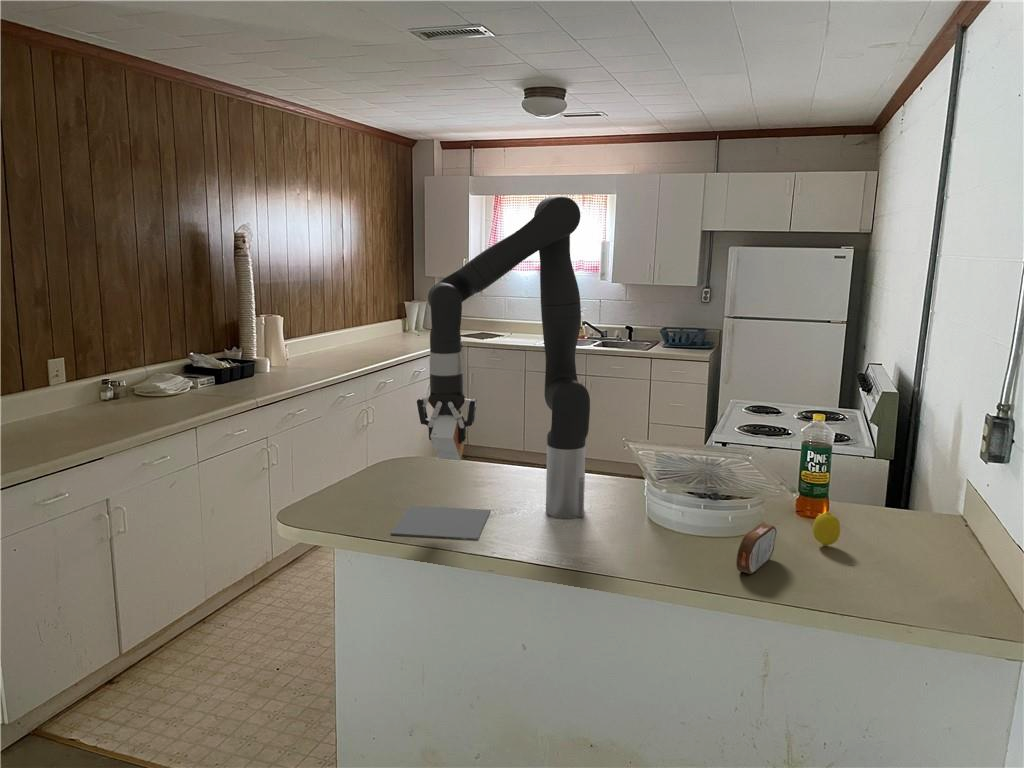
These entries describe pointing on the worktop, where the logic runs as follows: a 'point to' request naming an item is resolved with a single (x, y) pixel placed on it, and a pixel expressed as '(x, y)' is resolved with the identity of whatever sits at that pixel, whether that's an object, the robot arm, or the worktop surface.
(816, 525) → the lemon
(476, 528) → the mat
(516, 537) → the worktop surface
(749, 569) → the tin
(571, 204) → the robot arm
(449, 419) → the small box
